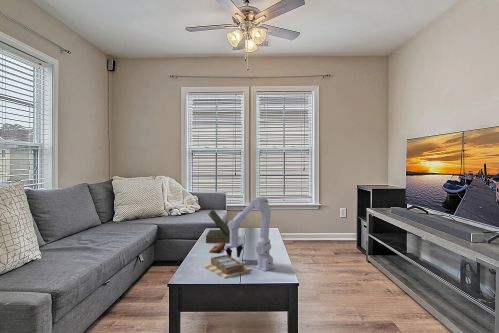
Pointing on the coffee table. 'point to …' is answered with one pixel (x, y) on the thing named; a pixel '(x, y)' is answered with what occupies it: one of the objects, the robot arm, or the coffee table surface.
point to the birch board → (222, 274)
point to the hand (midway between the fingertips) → (234, 258)
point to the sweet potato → (217, 248)
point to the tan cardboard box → (227, 264)
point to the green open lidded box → (221, 234)
